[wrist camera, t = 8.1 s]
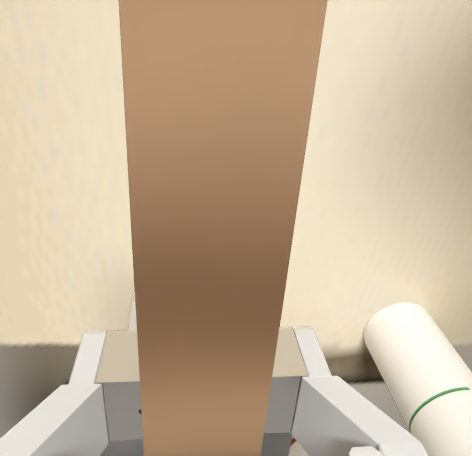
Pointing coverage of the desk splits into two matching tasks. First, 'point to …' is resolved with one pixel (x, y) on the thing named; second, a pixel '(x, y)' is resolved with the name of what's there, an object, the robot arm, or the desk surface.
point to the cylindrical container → (423, 377)
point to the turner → (213, 210)
